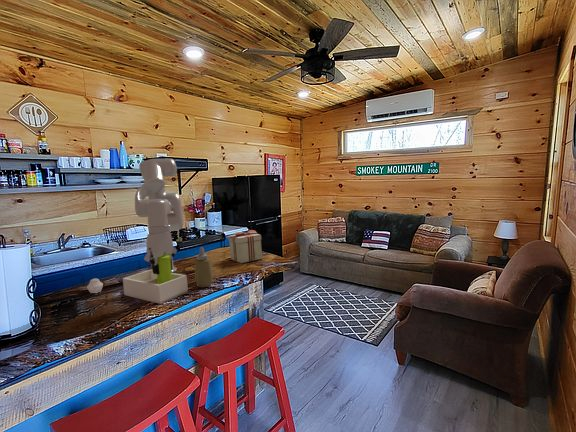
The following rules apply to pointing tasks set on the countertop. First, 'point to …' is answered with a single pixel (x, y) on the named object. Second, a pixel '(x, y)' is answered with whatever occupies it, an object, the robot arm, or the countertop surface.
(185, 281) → the caddy
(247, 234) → the gift box
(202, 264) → the squeeze bottle
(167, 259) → the soap dispenser
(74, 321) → the countertop surface
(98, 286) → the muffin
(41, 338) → the countertop surface
